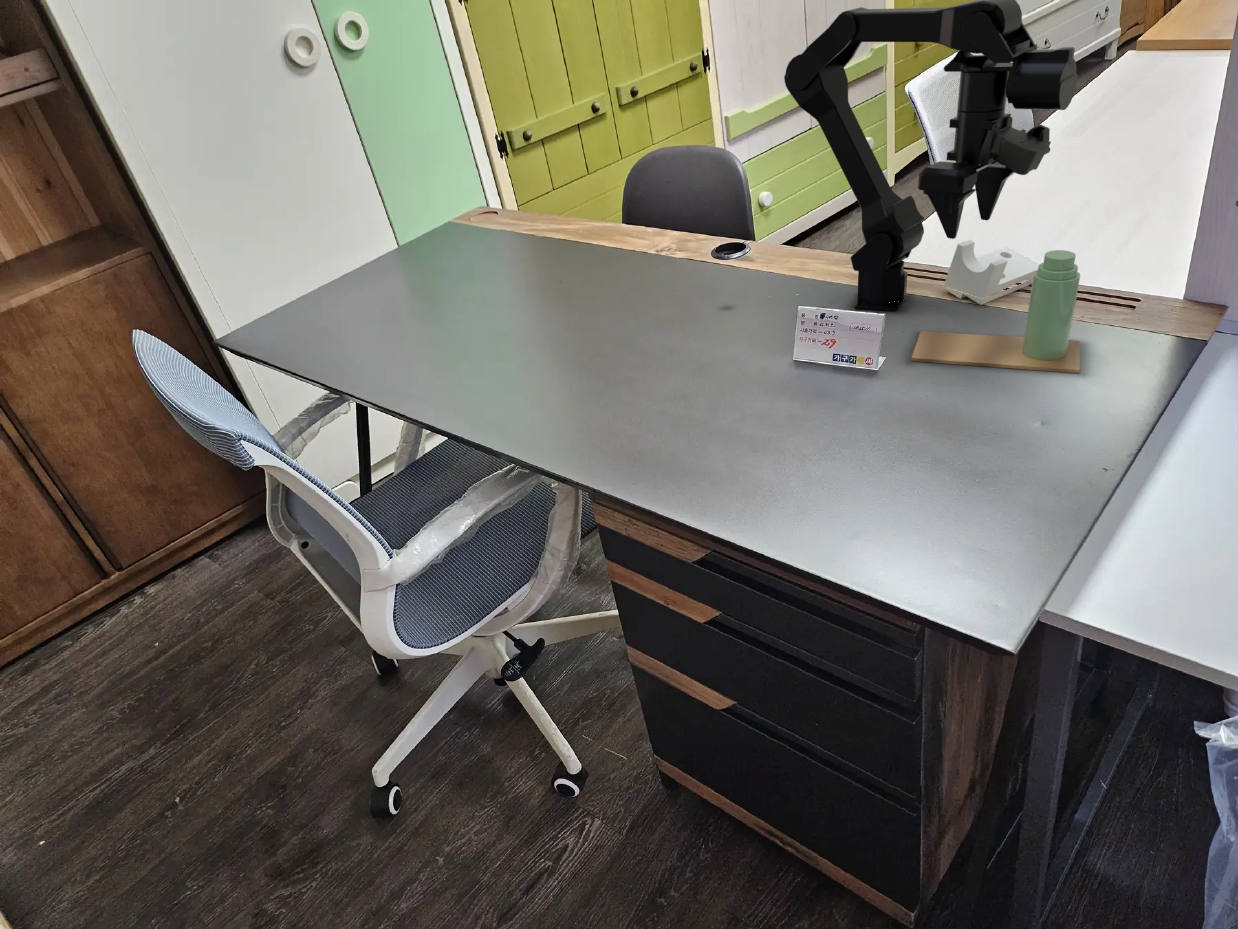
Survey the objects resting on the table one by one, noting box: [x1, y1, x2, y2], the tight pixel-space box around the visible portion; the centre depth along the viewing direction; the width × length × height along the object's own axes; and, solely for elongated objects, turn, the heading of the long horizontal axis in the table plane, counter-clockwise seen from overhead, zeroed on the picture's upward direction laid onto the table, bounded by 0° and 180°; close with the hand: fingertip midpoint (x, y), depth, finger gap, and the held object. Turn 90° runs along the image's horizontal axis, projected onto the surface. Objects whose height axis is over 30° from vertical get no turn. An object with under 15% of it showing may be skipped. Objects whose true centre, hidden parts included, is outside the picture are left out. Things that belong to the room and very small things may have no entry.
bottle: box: [1022, 249, 1081, 360], centre depth 106 cm, size 5×5×13 cm
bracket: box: [943, 239, 1041, 306], centre depth 129 cm, size 13×7×8 cm, turn 121°
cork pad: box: [910, 330, 1081, 374], centre depth 112 cm, size 20×9×1 cm, turn 66°
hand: (968, 228), depth 116 cm, fingers open, 9 cm apart
